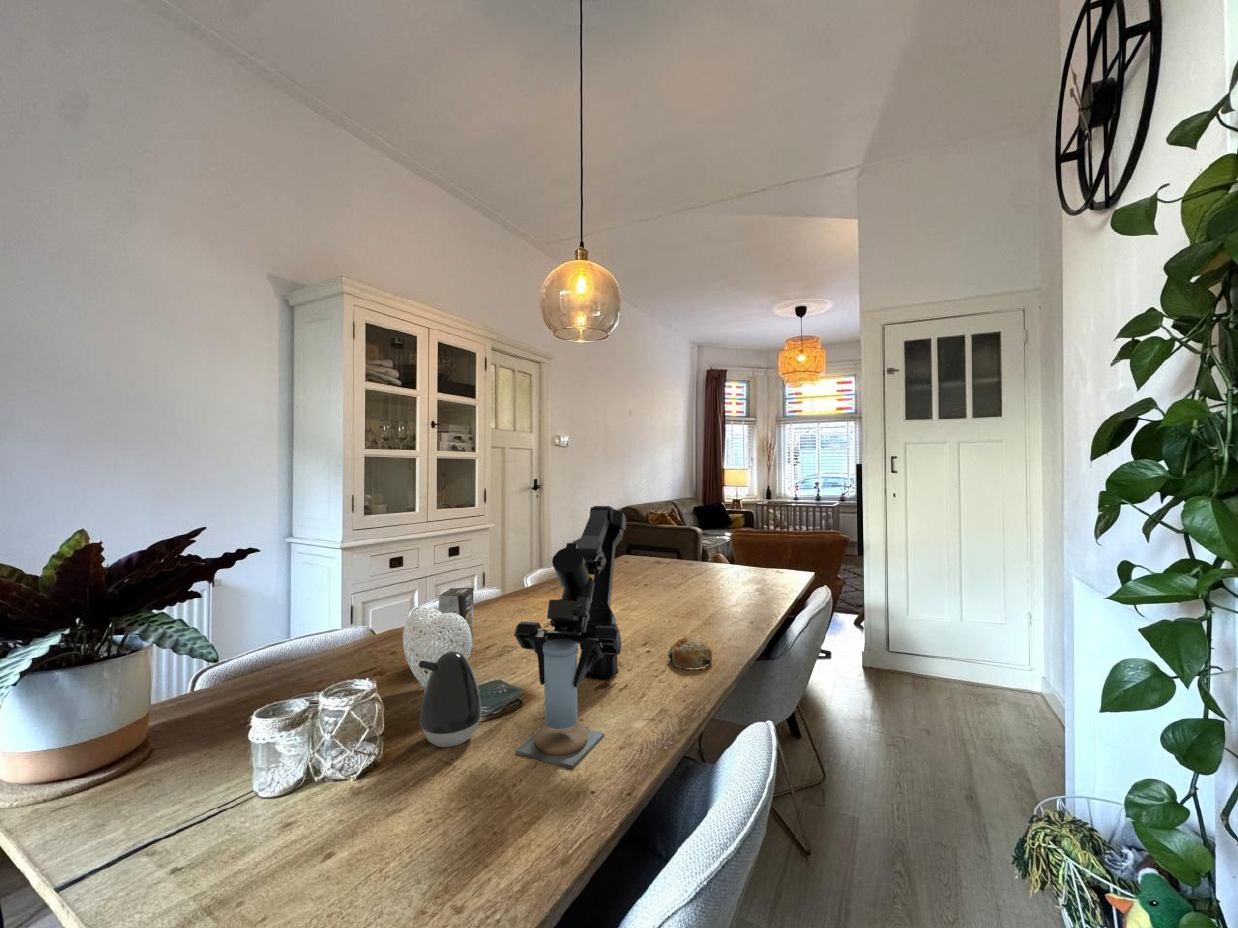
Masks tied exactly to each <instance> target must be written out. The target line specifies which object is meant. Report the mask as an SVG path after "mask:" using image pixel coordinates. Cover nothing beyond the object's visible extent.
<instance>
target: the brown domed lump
mask: <svg viewBox="0 0 1238 928" xmlns="http://www.w3.org/2000/svg"><path fill="white" fill-rule="evenodd" d="M667 656H668V658H669V659H670V660H669V662H672V663H673V664H674V665H676V666H678V667H681V668H693V669H695V668H700V667H705V666H706V665H707V664H709V665H711V663H712V661H713V653H712V650H711V648H710V646H709V645H708V644H707V643H706V642H705V641H703V640H702V639H701V638H698V637H692V636H686V637H683V638H680V639H678V640H677V641H675V642H674V644H671V646H670V649H669V650H668V652H667ZM672 663H671V664H672ZM673 664H672V665H673ZM674 665H673V666H674ZM676 666H675V667H676ZM678 667H677V668H678Z"/></svg>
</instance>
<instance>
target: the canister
mask: <svg viewBox="0 0 1238 928" xmlns="http://www.w3.org/2000/svg"><path fill="white" fill-rule="evenodd" d="M578 652H579V643H577V642H576V641H574V640H571V639H554V640H550V641H547V642H545V643H544V644H543V653H544V685H543V686H544V687H543V688H544V691H543V692H544V724H545V725H547V726H548V727H550V728H554V729H564V728H568V727H571V726H573V725H575V724H576V723H578V714H579V713H578V687H577V688H576V687H574V680H575V674H576V670H577V667H578Z"/></svg>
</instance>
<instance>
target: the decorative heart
mask: <svg viewBox="0 0 1238 928" xmlns="http://www.w3.org/2000/svg"><path fill="white" fill-rule="evenodd" d="M454 616H455V617H454ZM456 619H457V620H456ZM442 622H443V623H442ZM451 623H452V624H451ZM454 625H455V626H454ZM462 626H463V627H462ZM439 627H440V629H439ZM442 627H444V628H445V630H443V629H442ZM454 628H455V629H454ZM459 628H460V629H461V631H459ZM451 629H452V630H453V632H452V631H451ZM447 630H448V631H449V633H448V631H447ZM440 631H441V634H440ZM456 633H457V634H456ZM452 635H453V636H452ZM457 635H459V638H458V637H457ZM454 636H455V638H453V637H454ZM444 637H445V641H444ZM439 638H441V639H440V640H439ZM447 639H448V640H447ZM450 640H452V641H453V643H452V644H451V643H450ZM455 641H456V643H457V644H456V645H455ZM463 644H464V646H463ZM471 646H472V635H471V630H470V628H469V625H468V623H467V622H466V620H465V619H464V618H463V617H461V616H460V615H458V614H455V613H444V614H442V613H441V612H439V609H436V608H432V607H426V606H425V607H420V608H417V609H415V610H414V611H413V612H411V614H409V616H408V618H407V619H406V620H405V623H404V627H403V632H402V647H403V652H404V656H405V660H406V662H407V664H408V666H409V668H410V670H411V672H412V674H413V675H414V677H415V679H416V680H417V681H418V682H419V683H420V687H422V688H423V687H424V689H425V688H426V684H427V681H428V678H429V676H430V674H431V671H430V670H428V669H425V668H422V667H419V662H420V661H421V660H423V661H428V662H434V663H436V662H437V660H438V659H439V658H440V656H442V655H443V654H445V653H447V652H451V651H455V652H459V653H461V654H463V655H464V656H465V658H466V659H467V661H468V662H469V657H470V655H471V652H472V650H471ZM457 649H458V650H457ZM425 671H426V672H427V673H426V672H425Z"/></svg>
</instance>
